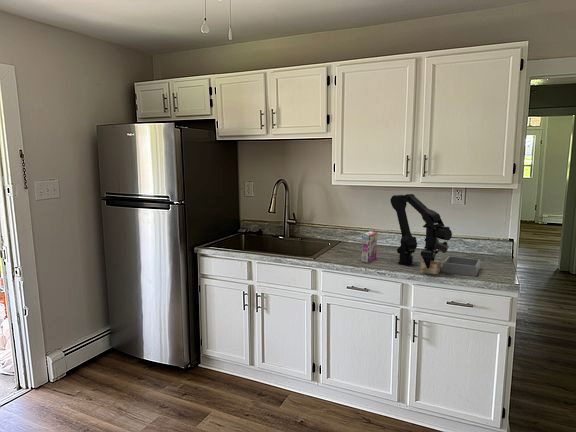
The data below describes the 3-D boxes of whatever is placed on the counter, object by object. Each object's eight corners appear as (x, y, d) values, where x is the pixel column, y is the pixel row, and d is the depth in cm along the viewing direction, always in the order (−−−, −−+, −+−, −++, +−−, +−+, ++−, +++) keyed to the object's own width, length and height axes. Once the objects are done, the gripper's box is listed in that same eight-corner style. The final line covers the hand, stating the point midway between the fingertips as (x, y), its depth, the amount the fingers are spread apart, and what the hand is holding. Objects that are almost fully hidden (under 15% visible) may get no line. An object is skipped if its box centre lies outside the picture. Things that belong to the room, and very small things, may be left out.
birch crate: (419, 271, 214) (420, 262, 213) (422, 268, 219) (423, 259, 219) (437, 274, 209) (438, 264, 209) (440, 271, 215) (440, 262, 214)
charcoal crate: (442, 271, 213) (443, 262, 212) (448, 264, 226) (448, 255, 226) (476, 276, 205) (476, 266, 204) (479, 268, 218) (480, 259, 218)
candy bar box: (368, 263, 230) (369, 235, 227) (360, 262, 233) (361, 234, 230) (376, 259, 239) (377, 231, 236) (368, 257, 242) (369, 230, 239)
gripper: (444, 242, 200) (442, 272, 202) (451, 235, 215) (449, 263, 218) (421, 239, 205) (419, 269, 208) (429, 233, 221) (428, 261, 223)
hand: (430, 266), depth 214 cm, fingers open, 9 cm apart
